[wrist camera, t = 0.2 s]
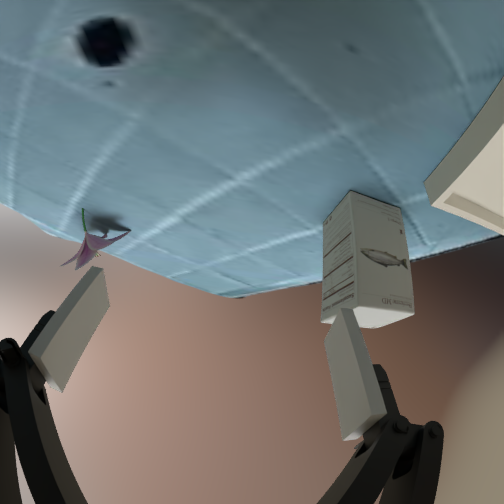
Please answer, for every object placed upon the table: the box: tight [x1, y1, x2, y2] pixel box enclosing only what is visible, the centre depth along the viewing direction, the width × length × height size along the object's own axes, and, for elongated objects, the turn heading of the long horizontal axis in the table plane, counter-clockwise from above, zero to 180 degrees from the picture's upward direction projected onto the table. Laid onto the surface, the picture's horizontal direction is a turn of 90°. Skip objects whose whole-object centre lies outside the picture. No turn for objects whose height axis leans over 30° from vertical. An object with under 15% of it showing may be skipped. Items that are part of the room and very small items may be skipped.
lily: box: [61, 208, 130, 270], centre depth 36 cm, size 12×12×10 cm
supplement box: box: [321, 191, 414, 328], centre depth 27 cm, size 7×7×13 cm
